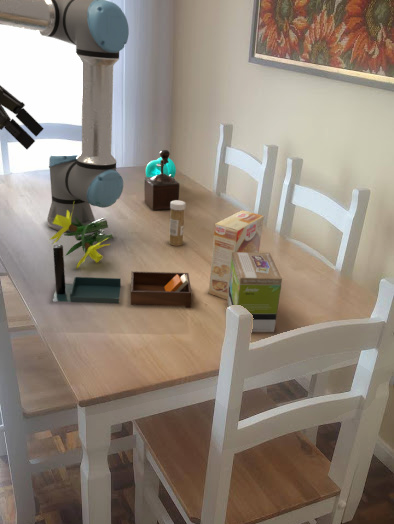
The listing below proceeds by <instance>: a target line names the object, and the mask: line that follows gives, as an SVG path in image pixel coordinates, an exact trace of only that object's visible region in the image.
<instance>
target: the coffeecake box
mask: <svg viewBox="0 0 394 524" xmlns="http://www.w3.org/2000/svg"><path fill="white" fill-rule="evenodd" d="M264 219H265V216H264V215H262V214H259V213H255V212H251V211H247V210H243V209H241V210H240V211H238V212H236V213H234V214H232V215H230V216H228V217H226V218H223V219H222V220H220V221H218V222H216V223H214V230H213V241H212V253H211V265H210V273H209V285H208V293H207V294H210V295H213V296H216V297H218V298H221V299H224V300H227V301H228V292H229V281H230V270H231V259H232V252H242V253H260V247H261V240H262V234H263V233H262V232H263V226H264Z"/></svg>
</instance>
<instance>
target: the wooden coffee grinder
mask: <svg viewBox="0 0 394 524" xmlns="http://www.w3.org/2000/svg"><path fill="white" fill-rule="evenodd" d="M159 156H160V157H162V160H161V161H160V163H159V164H157V166H158V167H161V174H159V175H156V176H154V177H146V176H145V177H144V183H143V184H144V187H143V188H144V189H143V190H144V191H143V192H144V204H145V205H146V206H147V207H148V208H149V209H150V210H152V211H165V210H166V211H167V210H171V208H170V203H171V201H174V200H180V183H179V182H178V181H177V180H176V179H175V177H174V178H173V177H171V174H170V175H169V176H168V175H166V174H164V173H163V166H164V164H165V165H166V164H167V163H169V161H168V158H169V157H171V152H170V151H169V150H167V149H162V150H161V151H160V152H159Z"/></svg>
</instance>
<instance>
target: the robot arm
mask: <svg viewBox="0 0 394 524" xmlns="http://www.w3.org/2000/svg"><path fill="white" fill-rule="evenodd" d="M0 25H1V26H2V25H3V26H8V27H13V28H19V29H25V30H32V31H37V32H38V34H39V35H41V36H43V37H46V38H47V37H48V38H53V39H55V40H58V41H62V42H65V43H68V44H70V45H74V46H75V56H76V57H77V58H78V59H79V61H80V63H81V151H76V150H75V151H71V150H70V151H60V152H55V153H52V154H50V156H49V162H48V163H49V165H48V168H49V177H50V192H51V203H50V207H49V211H48V215H47V219H46V220H47V227H49V228H50V229H53V230H55V231H57V232H58V231H60V230H61V229H62V228H63V227H62V226H60V225H57V224H53V222H54V221H53V220H54V219H55V217H56V215H61V216H64V217H66V213H67V210H68V211H69V212H70V216H71V214H72V217H71V222H74V223H77V221H76V219H75V217H76V218H77V219H78V220H79V221H80V223H81V224H83V225H87V224H90V223H92V222H94V221H96V220H95V216H94V213H93V210H92V207H91V206H93V207H98V208H101V209H102V208H108V207H112V206H113V205H114V204H115V203H116V202H117V201H118V200H119V199H120V198H121V195H122V194H123V190H124V180H123V179H124V178H123V176H122V175H121V173H120V172H119V171H118V170H117V159H116V158H115V157H114V156H113V155H112V145H113V143H112V142H113V141H112V140H113V97H114V66H115V64H116V63H117V62H118V61H119V60H120V52H121V51H122V50H123V49H124V48H125V45H126V44H128V43H127V42H128V40H129V34H130V29H129V23H128V19H127V16H126V14H125V12H124V11H123V10H122V8H121V7H120V6H119V5H118V4H117V3H115V2H112V1H110V0H0ZM25 106H26V104H25V103H24V102H23V101H21V100H19V99H18V98H17V97H16V96H14V95H13V94H11V93H10V91H8V90H7V89H6V88H5V87H3V86H2V85H1V84H0V130H1V131H2V130H4V129H5V130H6V131H7V132H8V133H9V134H10V135H11V136H12V137H13V138H14V139H15V140H16V141H17V142H18V144H20V145H22V146H23V148H24V149H25V150H28V149H29V148H31V146H32V145H33V144H34V143H35V142H36V140H35V139H34V138H33V137H32V136H31V135H30V134H29V133H28V132H27V131H26V130H25V129H24V128H23V127H22V126H21V125H20V124H19V123H18V122H17V121H16V120H15V119H14V118H11V117H10V116H9V114H8V113H7V111H6V110H5V109H7V110H8V111H10V112H11V113H12V114H14V115H15V117H16V119H18V121H19V122H20V123H21V124H22V125H23V126H24V127H26V129H28V131H30V132H31V133H32V134H33V135H34V137H38V135H40V134H41V132H43V130H44V129H45V128H44V127H43V126H42V125H41V124H40V122H38V121H37V120H36V119H35V118H34V117H33V116H32V115H31V114H30V113H29V112H28V110H26V109H25V108H24V107H25ZM73 206H74V208H73ZM72 211H73V212H72ZM70 216H69V217H70ZM77 224H78V223H77ZM94 224H95V223H94ZM71 232H75V231H70V230H69V229H68V230H67V231H65V232H64V233H71Z"/></svg>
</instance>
